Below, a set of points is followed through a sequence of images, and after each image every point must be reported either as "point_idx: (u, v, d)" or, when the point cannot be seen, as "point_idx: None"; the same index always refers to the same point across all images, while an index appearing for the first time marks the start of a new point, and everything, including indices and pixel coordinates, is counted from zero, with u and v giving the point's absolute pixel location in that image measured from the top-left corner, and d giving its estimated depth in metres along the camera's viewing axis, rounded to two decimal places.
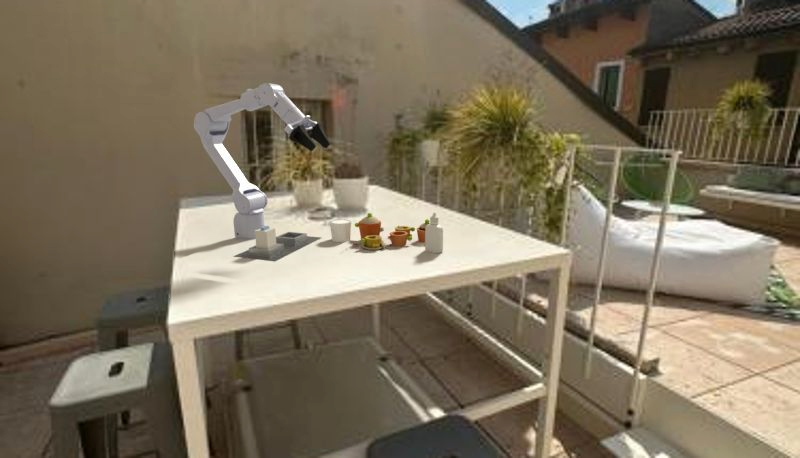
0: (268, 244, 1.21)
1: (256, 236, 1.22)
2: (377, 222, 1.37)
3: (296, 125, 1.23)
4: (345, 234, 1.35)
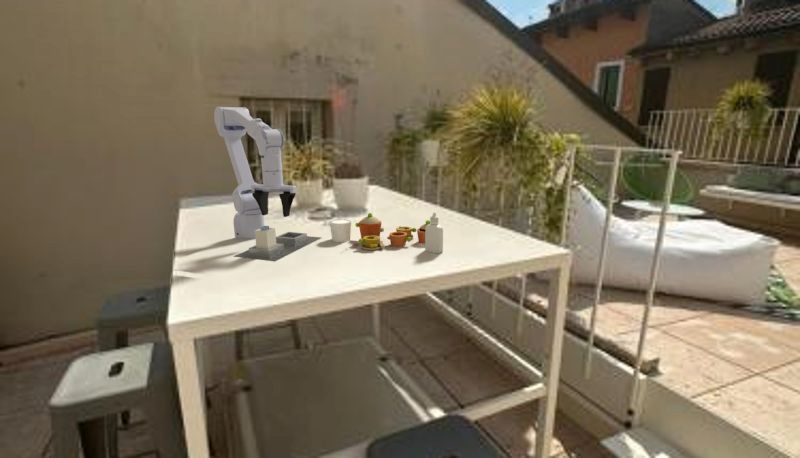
0: (268, 244, 1.21)
1: (256, 236, 1.22)
2: (377, 222, 1.37)
3: None
4: (345, 234, 1.35)
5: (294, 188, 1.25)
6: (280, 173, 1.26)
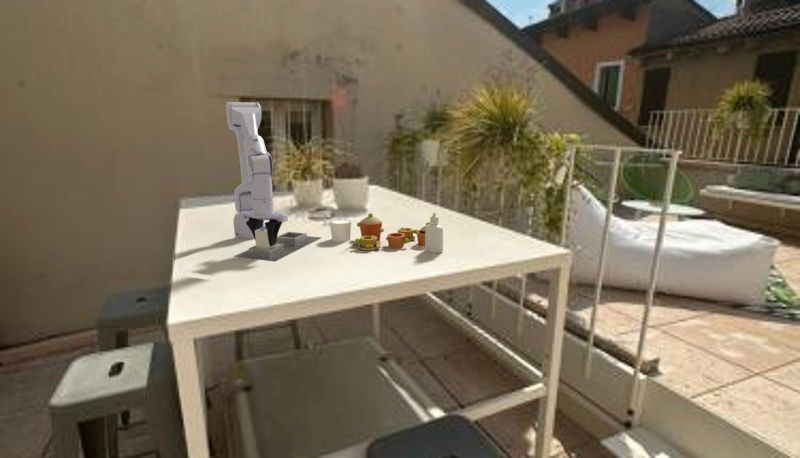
0: (268, 244, 1.21)
1: (256, 236, 1.22)
2: (376, 223, 1.36)
3: None
4: (345, 234, 1.35)
5: (285, 217, 1.19)
6: (271, 200, 1.19)
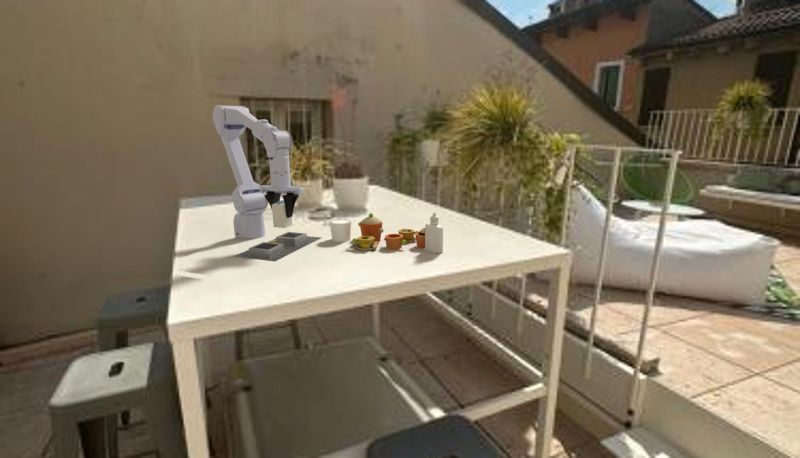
0: (284, 217, 1.28)
1: (273, 210, 1.28)
2: (376, 223, 1.36)
3: None
4: (345, 234, 1.35)
5: (301, 190, 1.26)
6: (288, 174, 1.26)
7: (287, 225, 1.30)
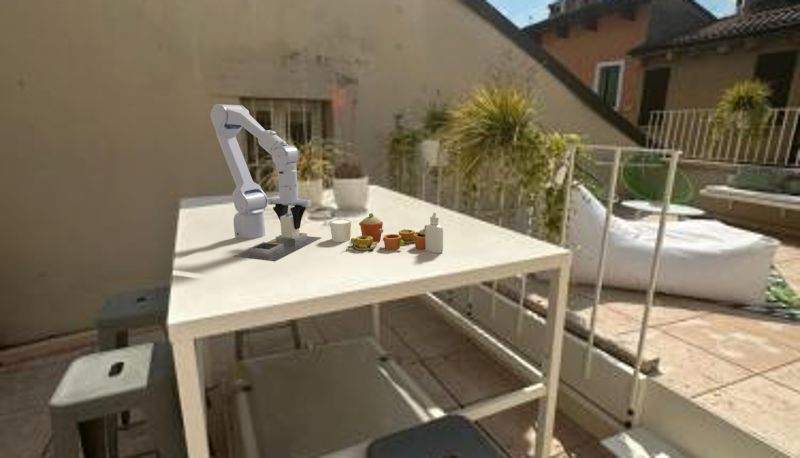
0: (292, 229, 1.32)
1: (281, 222, 1.33)
2: (376, 223, 1.36)
3: None
4: (345, 234, 1.35)
5: (309, 202, 1.30)
6: (296, 187, 1.31)
7: (295, 236, 1.34)
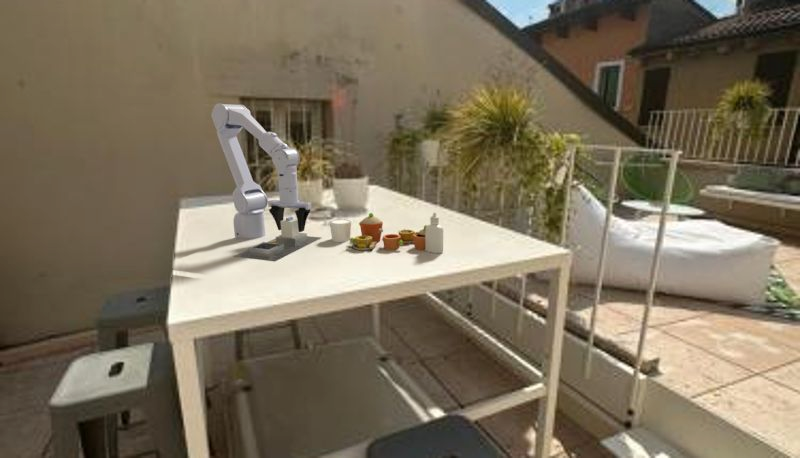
0: (293, 233, 1.33)
1: (281, 226, 1.33)
2: (375, 223, 1.36)
3: None
4: (345, 234, 1.35)
5: (309, 205, 1.31)
6: (296, 190, 1.31)
7: None
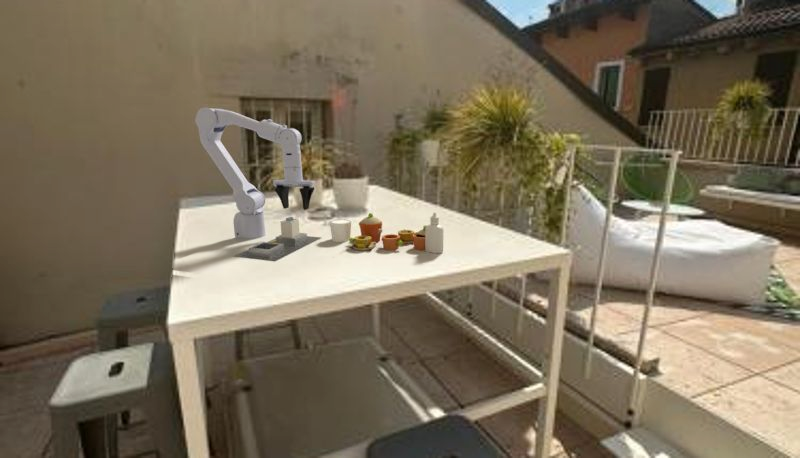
0: (293, 233, 1.33)
1: (281, 226, 1.33)
2: (375, 223, 1.36)
3: None
4: (345, 234, 1.35)
5: (313, 183, 1.35)
6: (300, 169, 1.36)
7: None
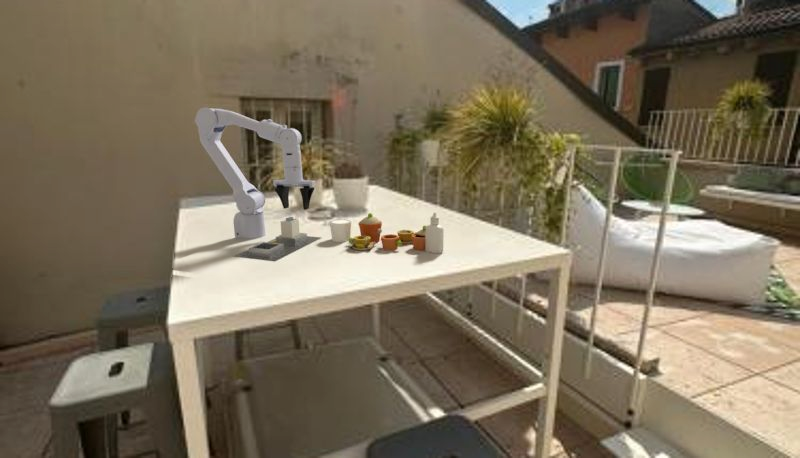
0: (293, 233, 1.33)
1: (281, 226, 1.33)
2: (374, 223, 1.35)
3: None
4: (345, 234, 1.35)
5: (313, 183, 1.35)
6: (300, 169, 1.36)
7: None
